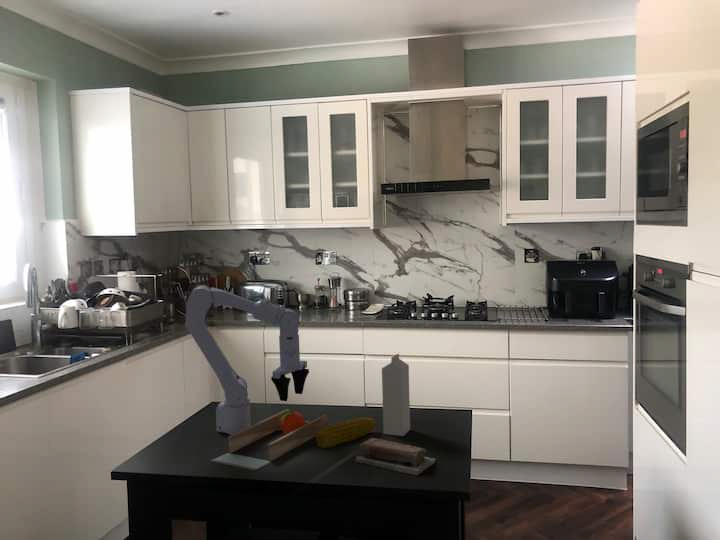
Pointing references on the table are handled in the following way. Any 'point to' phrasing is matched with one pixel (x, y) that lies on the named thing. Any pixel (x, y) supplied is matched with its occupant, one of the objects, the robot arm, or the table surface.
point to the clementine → (291, 422)
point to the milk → (396, 397)
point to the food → (344, 432)
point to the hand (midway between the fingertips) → (291, 397)
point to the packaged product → (394, 456)
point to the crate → (281, 444)
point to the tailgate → (240, 461)
